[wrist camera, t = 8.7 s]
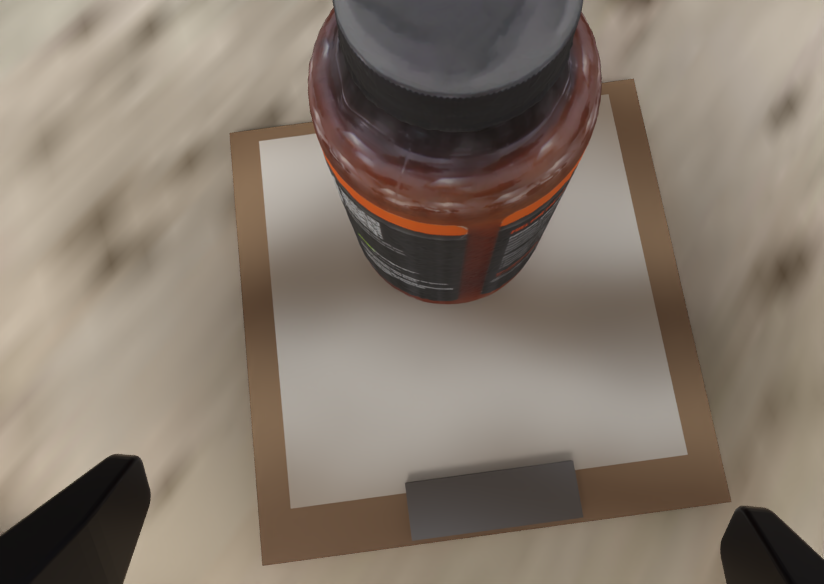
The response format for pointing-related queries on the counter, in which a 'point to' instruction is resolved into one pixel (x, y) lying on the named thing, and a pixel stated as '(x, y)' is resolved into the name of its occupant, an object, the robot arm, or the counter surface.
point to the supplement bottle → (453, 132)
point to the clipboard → (466, 364)
